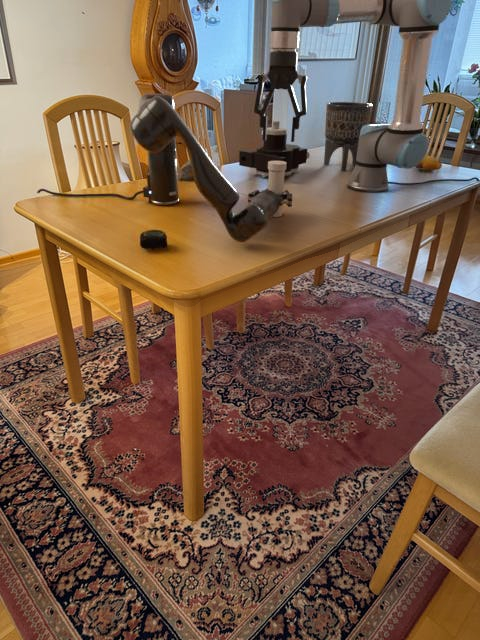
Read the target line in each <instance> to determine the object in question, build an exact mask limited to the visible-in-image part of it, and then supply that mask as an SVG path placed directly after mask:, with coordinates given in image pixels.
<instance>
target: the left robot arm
mask: <svg viewBox="0 0 480 640" xmlns="http://www.w3.org/2000/svg"><path fill="white" fill-rule="evenodd" d="M175 105H176V104H175V101H174V97H173V95H172V94H170V93H145V94H142V95H141V96H140V98H139V103H138V110H137V113H136V115H134V116H133V118H132V119H131V121H130V122H129V130H130V133H131V135H132V137H133V138H134V140H135V141H136V143H137V144H138V145H139V146H140V147H141V148H142V149H144V150H145V151H146V153H147V165H148V173H146V183H147V184H146V185H145V186H143V187H142V190H139V191H137V192H135V193H134V194H133V196H129V197H127V196H124V195H122V194H119V193H62V192H57V191H56V192H55V191H50V190H48V189H45V188H40V189H38V190H37V191H36V194H40V193H41V192H45V193H47V194H51V195H54V196H61V197H70V198H71V197H72V198H73V197H81V198H82V197H86V198H87V197H119V198H121V199H123V200H128V201H131V200H135V198H137V196H138V195H141V194H143V198H146V199H147V198H148V203H149V204H152V205H155V206H162V207H163V206H167V207H168V206H173V205H174V206H175V205H177V204H178V203H179V202H180V199H179V183H178V181H179V179H178V161H177V144H176V143H177V142H176V137H178V138H179V139H180V141H181V142H182V143H183V145H184V148H185V149H186V152H187V155H188V158H189V159H188V160H190V163H191V167H192V172H193V177H194V180H193V181H194V183H195V186H196V188H197V190H198V192H199V193H200V194H201V196H202V197H203V198H204V199H205V200H206V201H207V202H208V203H209V205H210V206H211V207H212V208H213V209H214V210H215V211H216V213H217V214H218V216H219V218H220V220H221V222H222V223H223V225H224V227H225V229H226V232H227V234H228V235H229V237H230V238H231V239H232V240H233V241H235V242H237V243H245V242H247V241H249V240H250V239H251V238H253V237H254V236H256V235H257V234H258V233H260V232H261V231H263V230H264V229H265V228H266V227H267V226H268V224H269V220H271V219H272V218H273V217H272V216H273V215H274V214H275V213H276V212H277V210H278V209H279V207H280V206H282V207H283V205H286V206H287V207H288V208H291V207H292V206H293V193H290V191H289V190H288V189H285V190H283V193H281V192H279V193H274V192H273V191H271V190H268V187H267V188H266V189H262V190H261V191H260V190H259V189H256V190H254V191H252V192H249V193H248V194H247V195H248V196H247V202H248V203H247V204H246V206H245V207H244V208H242V209H241V210H240V211H238V212H237V213H236V214H234V212H233V210H232V209H233V208H235V206H236V205H237V204H238V202H239V200H240V194H239V192H238V190H236V188H235V187H234V186H233V185H232V184H231V182H230V181H229V180H228V179H227V178H226V177H225V175H223V174H222V172H221V171H220V170H219V169H218V167H217V166H216V164H215V163H214V162H213V160H212V159H211V158H210V156H209V154H208V153H207V151H206V150H205V149H204V147H203V146H202V144H201V143H200V142H199V140H198V139H197V137H196V136H195V134H194V133H193V132H192V130H191V129H190V128H189V127H188V126H189V125H187V124H186V122H185V120H183V118H182V117H181V115H180V114H179V113H178V111H176V106H175Z"/></svg>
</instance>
